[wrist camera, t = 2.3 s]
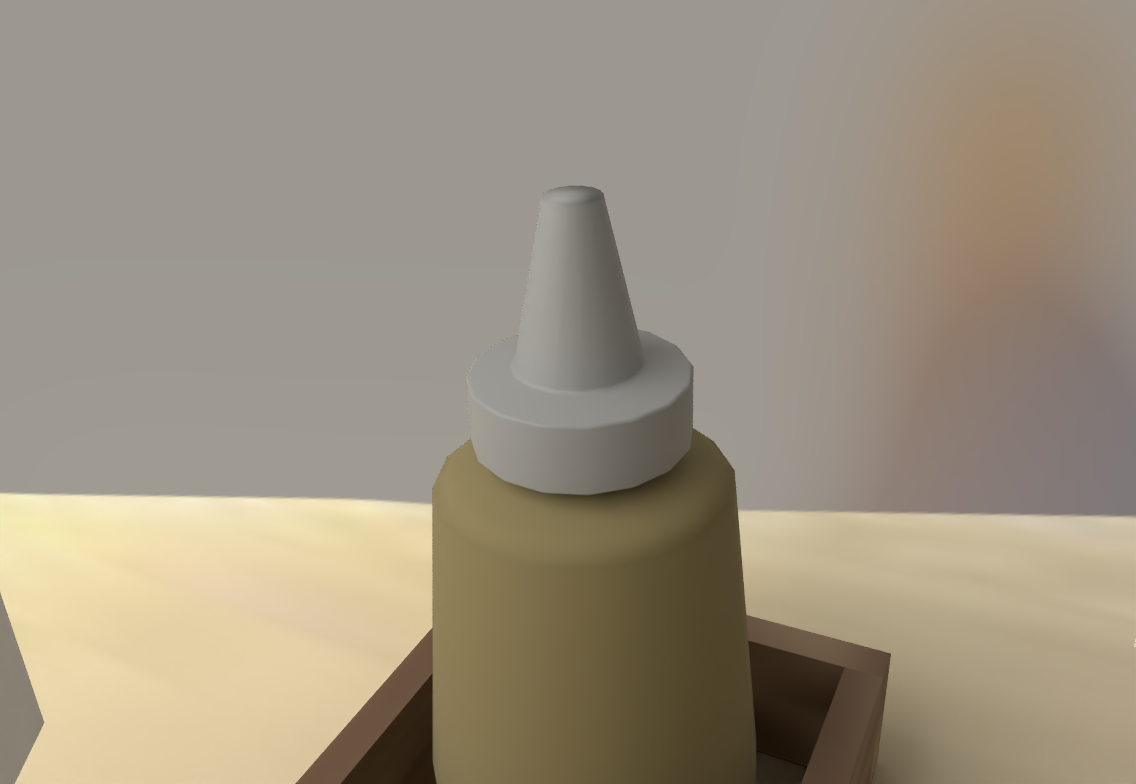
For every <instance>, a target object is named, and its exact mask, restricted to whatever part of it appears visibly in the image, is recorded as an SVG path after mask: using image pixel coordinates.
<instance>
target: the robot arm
mask: <svg viewBox="0 0 1136 784" xmlns="http://www.w3.org/2000/svg"><path fill="white" fill-rule="evenodd" d="M1134 646H1135V648H1136V640H1135V643H1134ZM43 724H44V721H43V718H42V715H41V712H40V709H39V706H38V703H37V700H36V697H35V694H34V691H33V688H32V685H31V682H30V679H29V676H28V673H27V670H26V668H25V665H24V662H23V659H22V656H21V653H20V650H19V647H18V644H17V641H16V638H15V635H14V632H13V629H12V626H11V623H10V620H9V617H8V614H7V612H6V609H5V606H4V603H3V600H2V597H1V594H0V784H15V782H16V780H17V778H18V776H19V773H20V771H21V769H22V767H23V765H24V763H25V761H26V759H27V757H28V755H29V753H30V751H31V749H32V747H33V745H34V743H35V741H36V738H37V736H38V734H39V732H40V730H41V728H42V726H43Z"/></svg>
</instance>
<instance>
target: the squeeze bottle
mask: <svg viewBox="0 0 1136 784" xmlns="http://www.w3.org/2000/svg"><path fill="white" fill-rule="evenodd" d="M465 383H466V394H467V403H468V414H469V424H470V435H471V439H470V440H468V441H467V442H466V443H464V444H463V445H462V446H461V447H459V448H458V449H457V450H455V451H454V452H453V453H452V454H450V455H449V456H448V457H447V458H446V461H445V463H444V465H443V467H442V469H441V471H440V473H439V475H438V477H437V479H436V482H435V484H434V486H433V488H432V490H433V492H432V495H433V497H432V499H433V500H432V502H433V766H434V771H435V777H436V783H437V784H756V731H755V719H754V706H753V694H752V682H751V669H750V657H749V644H748V632H747V620H746V607H745V595H744V582H743V570H742V558H741V545H740V533H739V520H738V508H737V495H736V483H735V471H734V469H733V468H732V466H731V465H730V463H729V462H728V461H727V459H726V458H725V456H724V455H723V454H722V452H721V451H720V449H719V448H718V447H717V445H716V444H715V443H714V442H713V441H712V440H711V439H709V438H708V437H706V436H705V435H703V434H701V433H700V432H698V431H697V430H695V429H693V366H692V364H691V363H690V362H689V360H688V359H687V358H686V357H685V356H684V354H683V353H682V351H681V350H680V349H679V348H678V347H677V346H676V345H674V344H672V343H670V342H668V341H666V340H664V339H662V338H660V337H658V336H656V335H654V334H652V333H650V332H646V331H642V330H637V326H636V322H635V318H634V314H633V310H632V306H631V302H630V298H629V294H628V290H627V286H626V282H625V278H624V274H623V270H622V266H621V262H620V258H619V254H618V250H617V246H616V242H615V238H614V234H613V230H612V226H611V222H610V219H609V214H608V211H607V206H606V202H605V198H604V194H603V193H602V192H601V191H600V190H598V189H596V188H593V187H586V186H566V187H558V188H555V189H551V190H548V191H546V192H545V193H543V195H542V197H541V202H540V208H539V213H538V219H537V225H536V231H535V237H534V244H533V250H532V256H531V262H530V269H529V275H528V280H527V286H526V292H525V299H524V305H523V311H522V318H521V323H520V329H519V335H516V336H513V337H510V338H507V339H505V340H502V341H500V342H499V343H497V344H496V345H494V346H493V347H491V348H490V349H488V350H487V351H486V352H484V353H483V354H482V355H480V356H478V357H477V358H476V360H475V361H474V363H473V365H472V367H471V369H470V371H469V373H468V375H467V377H466V379H465Z"/></svg>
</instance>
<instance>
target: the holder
mask: <svg viewBox="0 0 1136 784" xmlns="http://www.w3.org/2000/svg"><path fill="white" fill-rule="evenodd" d="M746 620H747V632H748V644H749V657H750V669H751V682H752V694H753V706H754V719H755V731H756V750H757V751H760V752H763V753H766V754H769V755H772V756H775V757H779V758H782V759H785V760H788V761H791V762H794V763H797V764H801V765H804V766H807V770H806V772H805V775H804V778H803V780H802V783H801V784H870V783H871V779H872V776H873V773H874V769H875V766H876V763H877V758H878V750H879V742H880V734H881V727H882V719H883V711H884V703H885V696H886V688H887V680H888V672H889V665H890V657H891V654H890V653H886V652H883V651H879V650H875V649H871V648H868V647H864V646H860V645H856V644H853V643H849V642H845V641H841V640H838V639H834V638H830V637H826V636H823V635H819V634H815V633H811V632H808V631H804V630H800V629H796V628H793V627H789V626H785V625H781V624H778V623H774V622H770V621H766V620H763V619H759V618H755V617H751V616H748V615H746ZM296 784H437V783H436V777H435V771H434V766H433V628H432V629H431V630H430V631H429V632H428V633H427V634H426V636H425V637H424V638H423V639H422V640H421V641H420V642H419V644H418V645H417V646H416V647H415V648H414V649H413V650H412V651H411V653H410V654H409V655H408V656H407V657H406V658H405V659H404V661H403V662H402V663H401V664H400V665H399V666H398V667H397V669H396V670H395V671H394V672H393V673H392V674H391V675H390V677H389V678H388V679H387V680H386V681H385V682H384V683H383V685H382V686H381V687H380V688H379V689H378V690H377V691H376V693H375V694H374V695H373V696H372V697H371V698H370V699H369V701H368V702H367V703H366V704H365V705H364V706H363V707H362V709H361V710H360V711H359V712H358V713H357V714H356V715H355V716H354V718H353V719H352V720H351V721H350V722H349V723H348V724H347V726H346V727H345V728H344V729H343V730H342V731H341V732H340V734H339V735H338V736H337V737H336V738H335V739H334V740H333V742H332V743H331V744H330V745H329V746H328V747H327V748H326V750H325V751H324V752H323V753H322V754H321V755H320V756H319V758H318V759H317V760H316V761H315V762H314V763H313V764H312V766H311V767H310V768H309V769H308V770H307V771H306V772H305V774H304V775H303V776H302V777H301V778H300V779H299V780H298V782H297V783H296Z"/></svg>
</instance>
